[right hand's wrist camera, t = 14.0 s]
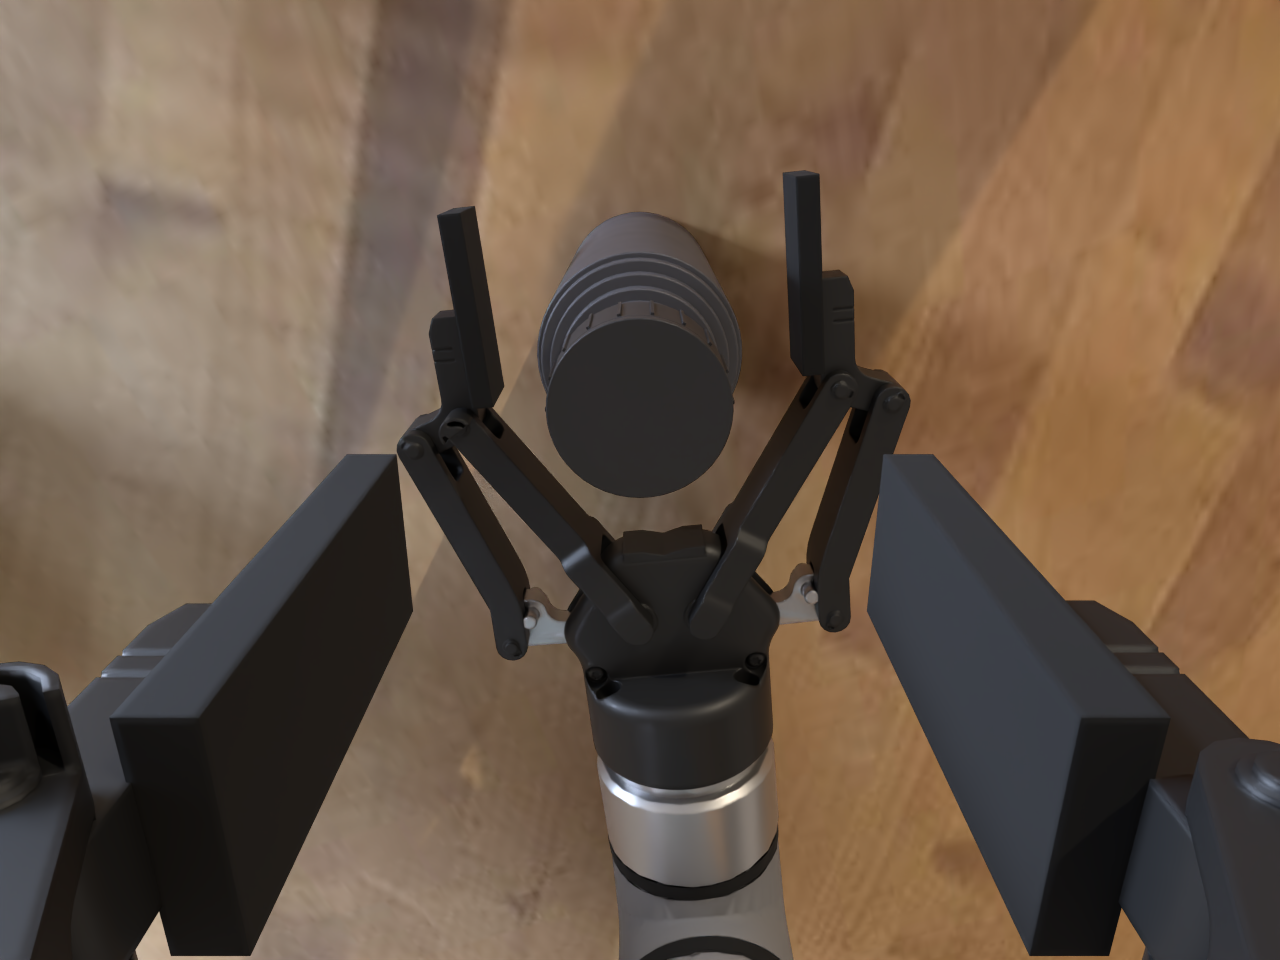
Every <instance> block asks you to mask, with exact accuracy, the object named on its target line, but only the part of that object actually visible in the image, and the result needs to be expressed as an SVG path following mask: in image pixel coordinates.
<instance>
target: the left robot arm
mask: <svg viewBox="0 0 1280 960" xmlns="http://www.w3.org/2000/svg"><path fill="white" fill-rule="evenodd" d="M783 190H784V213H785V237H786V260H787V284H788V308H789V331H790V355H791V359H792V360H793V362H794V363H795V365H796V366H797V368H798V369H799V371H800V373H801V374H802V376H807V377H806V379H805V381H804V383H803V384H802V386H801V388H800V389H799V391H798V393H797V394H796V396H795V398H794V400H793V401H792V403H791V405H790V406H789V408H788V410H787V412H786V413H785V415H784V417H783V418H782V420H781V422H780V423H779V425H778V427H777V429H776V430H775V432H774V434H773V435H772V437H771V439H770V440H769V442H768V444H767V446H766V447H765V449H764V451H763V452H762V454H761V456H760V458H759V459H758V461H757V463H756V464H755V466H754V468H753V469H752V471H751V473H750V475H749V476H748V478H747V480H746V481H745V483H744V485H743V486H742V488H741V490H740V492H739V493H738V495H737V497H736V498H735V500H734V501H733V503H731V504H729V505H728V506H727V507H726V509H725V510H724V512H723V514H722V515H721V517H720V519H719V520H718V522H717V524H716V526H715V527H714V529H713V531H712V532H711V531H708V530H703V529H702V524H701V525H691V526H682V527H679V528H676V529H673V530H670V531H667V532H664V533H659V532H653V531H646V530H638V531H627V532H623V537H622V538H619V539H617V540H615V539H614V538H613V537H612V536H611V535H610V534H609V533H608V532H607V530H606V529H605V528H604V527H603V526H602V525H601V524H600V523H599V521H598V520H597V519H595V518H594V517H590V516H588V515H587V514H586V513H585V511H584V510H583V509H582V508H581V507H580V506H579V505H578V504H577V502H576V501H575V500H574V499H573V498H572V497H571V496H570V495H569V493H568V492H567V491H566V490H565V489H564V488H563V487H562V486H561V484H560V483H559V482H558V481H557V480H556V479H555V478H554V477H553V476H552V474H551V473H550V472H549V471H548V470H547V469H546V468H545V467H544V465H543V464H542V463H541V462H540V461H539V460H538V459H537V458H536V456H535V455H534V454H533V453H532V452H531V451H530V450H529V449H528V447H527V446H526V445H525V444H524V443H523V442H522V441H521V440H520V438H519V437H518V436H517V435H516V434H515V433H514V432H513V431H512V429H511V428H510V427H509V426H508V425H507V424H506V423H505V422H504V420H503V419H502V418H501V417H500V416H499V415H498V414H497V413H496V412H495V410H494V409H493V408H492V407H494V405H495V403H496V401H497V399H498V397H499V395H500V393H501V392H502V390H503V388H504V382H503V376H502V370H501V363H500V357H499V351H498V345H497V339H496V333H495V327H494V321H493V315H492V309H491V302H490V296H489V290H488V284H487V278H486V272H485V266H484V260H483V254H482V247H481V241H480V235H479V229H478V223H477V217H476V211H475V206H471V207H462V208H453V209H451V210H448V211H446V212H444V213H441V214H439V215H437V218H438V224H439V229H440V235H441V240H442V246H443V251H444V257H445V263H446V268H447V274H448V279H449V285H450V291H451V296H452V302H453V307H454V310H446V311H440V312H439V313H438V314H437V315H436V316H434V317H433V318H432V321H431V326H430V330H429V338H430V343H431V348H432V353H433V358H434V362H435V363H434V364H435V369H436V374H437V379H438V385H439V390H440V395H441V403H442V404H441V408H440V409H438V410H436V411H434V412H432V413H430V414H424V415H420V416H419V417H418V418H416V419H415V421H414V422H413V423H412V425H411V426H410V427H409V428H408V430H407V431H406V432H405V434H404V435H403V436H402V437H401V439H400V440H399V442H398V444H397V453H398V456H399V458H400V460H401V461H402V463H403V465H404V466H405V468H406V470H407V471H408V473H409V475H410V476H411V478H412V480H413V481H414V483H415V485H416V486H417V488H418V490H419V492H420V493H421V495H422V497H423V498H424V500H425V502H426V503H427V505H428V507H429V508H430V510H431V512H432V513H433V515H434V517H435V518H436V520H437V522H438V523H439V525H440V527H441V529H442V530H443V532H444V534H445V535H446V537H447V539H448V540H449V542H450V544H451V545H452V547H453V549H454V550H455V552H456V554H457V555H458V557H459V559H460V560H461V562H462V564H463V566H464V567H465V569H466V571H467V572H468V574H469V576H470V577H471V579H472V581H473V582H474V584H475V586H476V587H477V589H478V591H479V592H480V594H481V596H482V597H483V599H484V601H485V602H486V604H487V606H488V608H489V609H490V612H491V618H492V624H493V630H494V636H495V642H496V648H497V651H498V653H499V654H500V655H501V656H502V657H503V658H505V659H507V660H518V659H520V658H522V657H523V656H524V655H525V654H526V652H527V648H528V646H533V645H547V644H561V643H567V644H568V646H569V647H570V649H571V650H572V651H573V652H574V653H575V654H576V656H577V657H578V659H579V660H580V662H581V665H582V668H583V672H584V679H585V686H586V693H587V699H588V706H589V713H590V720H591V726H592V733H593V740H594V745H595V749H596V751H597V753H598V758H597V769H598V775H599V781H600V787H601V793H602V799H603V805H604V811H605V817H606V823H607V829H608V839H609V843H610V848H611V853H612V858H613V867H614V876H615V885H616V894H617V903H618V912H619V935H620V939H619V960H793V955H792V949H791V944H790V938H789V933H788V928H787V922H786V915H785V908H784V899H783V888H782V877H781V867H780V856H779V846H778V818H779V813H778V798H777V783H776V769H775V754H774V742H773V740H772V737H771V736H772V732H773V718H772V701H771V684H770V667H769V646H770V642H771V640H772V637H773V636H774V634H775V632H776V630H777V629H778V626H779V625H780V624H790V623H799V622H808V621H818V620H819V622H820V625H821V627H822V628H823V629H824V630H826V631H828V632H839V631H842V630H843V629H845V628H846V627H847V626H848V624H849V623H850V618H851V614H850V590H849V577H850V574H851V571H852V569H853V566H854V563H855V560H856V557H857V554H858V552H859V549H860V546H861V543H862V540H863V538H864V535H865V532H866V529H867V526H868V523H869V521H870V518H871V515H872V512H873V509H874V506H875V504H876V501H877V498H878V495H879V492H880V483H881V474H882V464H883V455H884V454H893V453H894V450H895V447H896V444H897V442H898V439H899V436H900V433H901V430H902V427H903V425H904V422H905V419H906V416H907V413H908V410H909V408H910V401H911V400H910V397H909V394H908V393H907V392H906V391H905V390H904V389H903V387H901V386H900V385H899V384H898V383H897V382H896V381H895V380H894V379H893V378H892V377H891V376H890V375H889V374H888V373H887V372H885V371H883V370H870V369H866V368H862V367H859V366H857V365H856V362H855V336H854V290H853V287H852V285H851V283H850V280H849V278H848V276H847V275H845V274H844V273H843V272H841V271H840V270H833V271H823V272H822V248H821V212H820V177H819V174H817V173H813V172H809V171H805V170H803V171H794V172H785V173H783ZM850 407H852V410H851V413H850V416H849V419H848V422H847V425H846V428H845V431H844V434H843V437H842V440H841V443H840V446H839V449H838V452H837V455H836V458H835V461H834V464H833V467H832V470H831V473H830V476H829V479H828V482H827V486H826V489H825V492H824V495H823V498H822V501H821V504H820V507H819V510H818V513H817V516H816V519H815V522H814V525H813V528H812V531H811V534H810V538H809V542H808V547H807V564H805V563H800V564H798V565H797V566H796V567H795V569H794V570H793V571H792V573H791V575H790V579H789V582H788V584H787V586H786V587H784V588H783V589H781V590H780V591H776V592H773V591H772V589H771V588H770V587H769V586H768V585H767V584H766V583H765V581H764V580H763V579H762V578H761V577H760V576H759V575H758V574H757V573H756V572H755V570H756V569H757V567H758V566H759V564H760V562H761V561H762V559H763V557H764V555H765V552H766V548H767V543H768V541H769V539H770V537H771V535H772V534H773V532H774V531H775V529H776V527H777V526H778V524H779V522H780V521H781V519H782V518H783V516H784V514H785V513H786V511H787V509H788V508H789V506H790V504H791V503H792V501H793V500H794V498H795V496H796V495H797V493H798V491H799V490H800V488H801V487H802V485H803V483H804V482H805V480H806V478H807V477H808V475H809V474H810V472H811V470H812V469H813V467H814V465H815V464H816V462H817V460H818V459H819V457H820V456H821V454H822V452H823V451H824V449H825V447H826V446H827V444H828V443H829V441H830V439H831V438H832V436H833V434H834V433H835V431H836V429H837V428H838V426H839V425H840V423H841V421H842V420H843V418H844V416H845V415H846V413H847V412H848V410H849V408H850ZM458 450H459V451H460V452H461V453H462V454H463V455H464V456H465V458H466V459H467V460H468V461H469V462H470V463H471V464H472V465H473V466H474V467H475V468H476V469H477V471H478V472H479V473H480V474H481V475H482V476H483V477H484V478H485V479H486V480H487V481H488V482H489V484H490V485H491V486H492V487H493V488H494V489H495V490H496V491H497V492H498V493H499V494H500V496H501V497H502V498H503V499H504V500H505V501H506V502H507V503H508V504H509V505H510V506H511V507H512V509H513V510H514V511H515V512H516V513H517V514H518V515H519V516H520V517H521V518H522V519H523V520H524V522H525V523H526V524H527V525H528V526H529V527H530V528H531V529H532V530H533V531H534V532H535V533H536V535H537V536H538V537H539V538H540V539H541V540H542V541H543V542H544V543H545V544H546V545H547V547H548V548H549V549H550V550H551V551H552V552H553V553H554V554H555V555H556V556H557V557H558V559H559V560H560V561H561V563H562V566H563V568H564V570H565V572H566V574H567V575H568V576H569V578H570V579H571V580H572V581H573V582H574V583H575V584H576V585H577V586H578V587H579V589H580V590H579V591H578V593H577V594H576V596H575V598H574V599H573V601H572V602H571V604H570V606H569V608H568V610H560V609H557V608H555V607H553V606H552V605H551V603H550V602H549V600H548V597H547V595H546V594H545V593H544V592H543V591H542V590H541V589H540V588H538V587H533V588H531V589H530V585H529V580H528V577H527V574H526V571H525V569H524V567H523V565H522V563H521V561H520V559H519V557H518V555H517V553H516V552H515V550H514V548H513V546H512V545H511V543H510V541H509V539H508V538H507V536H506V534H505V532H504V531H503V529H502V527H501V525H500V524H499V522H498V520H497V518H496V516H495V515H494V513H493V511H492V509H491V508H490V506H489V504H488V502H487V501H486V499H485V497H484V495H483V494H482V492H481V490H480V488H479V486H478V485H477V483H476V481H475V479H474V478H473V476H472V474H471V472H470V471H469V469H468V467H467V465H466V464H465V462H464V460H463V458H462V457H461V455H460V453H459V451H458Z"/></svg>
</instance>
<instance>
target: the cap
mask: <svg viewBox="0 0 1280 960" xmlns="http://www.w3.org/2000/svg"><path fill="white" fill-rule="evenodd" d="M727 373H729V371H728V368H727V365H726V363H725V360H724V357H723V355H722V354H721V355H720V354H719V352H718V350H717V348H716V346H715V344H714V343H713V341H712V339H711V338H710V336H709V333H708V330H707V329H706V328H705V329H703V328H702V327H701V326H700V325H698V324H697V323H696V322H695V321H694V320H693V319H691V318H690V317H688V316H687V315H685V314H684V311H683V310H680V311H678V310H676V309H673V308H671V307H668V306H665V305H661V304H656V303H654V301H652V300H650V302H628V303H623V304H622V302H618V305H615V306H612V307H609V308H606V309H604V310H602V311H600V312H598V313H596V314H594V315H593V314H592V313H591V314H590V315H589V318H588V319H587V320H585V321H584V322H583V323H582V324H581V325H580V326H579V327H577V329H576V330H575V331H574V332H573V333H572V334H571V335H570V334H568V336H567V338H566V340H565V343H564V346H563V348H562V351H561V353H560V355H559V357H558V360H557V362H556V361H554V364H553V367H552V369H551V372H550V375H549V378H548V380H550V383H549V387H548V392H547V398H546V407H545V412H546V417H547V424H548V428H549V432H550V436H551V438H552V441H553V443H554V445H555V447H556V449H557V451H558V453H559V454H560V456H561V457H562V459H563V460H564V461H565V463H566V464H567V465H568V466H569V467H570V468H571V469H572V470H573V471H574V472H575V473H576V474H577V475H578V476H579V477H581V478H582V479H583V480H584V481H586V482H588V483H589V484H591V485H593V486H594V487H596V488H599V489H601V490H603V491H605V492H608V493H612V494H615V495H619V496H625V497H635V498H644V497H655V496H660V495H664V494H668V493H671V492H674V491H676V490H679V489H681V488H683V487H685V486H687V485H688V484H690V483H692V482H693V481H695V480H696V479H697V478H699V477H700V476H701V475H702V474H704V473H705V472H706V471H707V470H708V469H709V468H710V467H711V466H712V464H713V463H714V462H715V460H716V459H717V458H718V456H719V455H720V453H721V451H722V450H723V448H724V446H725V444H726V441H727V439H728V436H729V434H730V430H731V426H732V420H733V404H734V398H733V395H732V390H731V386H730V382H729V379H728V376H727Z"/></svg>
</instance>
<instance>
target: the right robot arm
mask: <svg viewBox="0 0 1280 960" xmlns="http://www.w3.org/2000/svg"><path fill="white" fill-rule="evenodd" d="M412 612H413V606H412V597H411V587H410V578H409V568H408V559H407V549H406V540H405V530H404V521H403V511H402V502H401V493H400V483H399V474H398V464H397V455H396V454H347V455H346V456H345V457H344V458H343V459H342V460H341V461H340V463H339V464H338V465H337V466H336V467H335V468H334V469H333V470H332V471H331V473H330V474H329V475H328V476H327V477H326V478H325V479H324V480H323V481H322V482H321V484H320V485H319V486H318V487H317V488H316V489H315V490H314V491H313V492H312V494H311V495H310V496H309V497H308V498H307V499H306V500H305V501H304V502H303V504H302V505H301V506H300V507H299V508H298V509H297V510H296V511H295V512H294V513H293V515H292V516H291V517H290V518H289V519H288V520H287V521H286V522H285V523H284V525H283V526H282V527H281V528H280V529H279V530H278V531H277V532H276V533H275V535H274V536H273V537H272V538H271V539H270V540H269V541H268V542H267V543H266V544H265V546H264V547H263V548H262V549H261V550H260V551H259V552H258V553H257V554H256V556H255V557H254V558H253V559H252V560H251V561H250V562H249V563H248V564H247V566H246V567H245V568H244V569H243V570H242V571H241V572H240V573H239V574H238V575H237V577H236V578H235V579H234V580H233V581H232V582H231V583H230V584H229V585H228V587H227V588H226V589H225V590H224V591H223V592H222V593H221V594H220V595H219V597H218V598H217V599H216V600H215V601H214V602H213V603H212V604H185V605H183V606H181V607H179V608H178V609H176V610H174V611H172V612H170V613H169V614H167V615H165V616H163V617H162V618H160V619H158V620H156V621H155V622H153V623H151V624H149V625H148V626H147V627H146V628H145V629H144V630H143V631H142V632H141V633H140V634H139V635H138V636H137V637H136V638H135V639H134V640H133V641H132V642H131V643H130V644H129V645H128V646H127V647H126V648H125V649H124V650H123V654H122V656H117V657H116V658H115V659H114V660H113V661H112V662H111V663H110V664H109V665H108V666H107V667H106V668H105V669H104V670H103V671H102V675H101V677H96V678H95V679H94V680H93V681H92V682H91V683H90V684H89V685H88V686H87V687H86V688H85V689H84V690H83V691H82V692H81V693H80V694H79V695H78V696H77V697H76V698H75V699H74V700H73V701H72V702H71V703H70V704H69V705H68V706H67V704H66V700H65V697H64V693H63V690H62V686H61V682H60V679H59V675H58V674H57V673H55V672H54V671H52V670H51V669H49V668H48V667H46V666H45V665H41V664H33V663H26V662H10V663H0V960H138V958H137V955H136V951H135V949H136V948H137V946H138V945H139V943H140V941H141V940H142V938H143V936H144V935H145V933H146V932H147V930H148V928H149V927H150V925H151V923H152V922H153V920H154V919H155V917H156V915H157V914H158V912H160V916H161V919H162V923H163V927H164V931H165V935H166V939H167V942H168V946H169V950H170V954H171V956H251V953H252V951H253V949H254V947H255V945H256V943H257V941H258V939H259V936H260V934H261V932H262V930H263V928H264V926H265V924H266V922H267V920H268V917H269V915H270V913H271V911H272V909H273V907H274V905H275V903H276V900H277V898H278V896H279V894H280V892H281V890H282V888H283V886H284V883H285V881H286V879H287V877H288V875H289V873H290V871H291V869H292V867H293V864H294V862H295V860H296V858H297V856H298V854H299V852H300V850H301V847H302V845H303V843H304V841H305V839H306V837H307V835H308V833H309V830H310V828H311V826H312V824H313V822H314V820H315V818H316V816H317V814H318V811H319V809H320V807H321V805H322V803H323V801H324V799H325V797H326V794H327V792H328V790H329V788H330V786H331V784H332V782H333V780H334V777H335V775H336V773H337V771H338V769H339V767H340V765H341V763H342V761H343V758H344V756H345V754H346V752H347V750H348V748H349V746H350V744H351V741H352V739H353V737H354V735H355V733H356V731H357V729H358V727H359V724H360V722H361V720H362V718H363V716H364V714H365V712H366V710H367V708H368V705H369V703H370V701H371V699H372V697H373V695H374V693H375V691H376V688H377V686H378V684H379V682H380V680H381V678H382V676H383V674H384V671H385V669H386V667H387V665H388V663H389V661H390V659H391V657H392V655H393V652H394V650H395V648H396V646H397V644H398V642H399V640H400V638H401V635H402V633H403V631H404V629H405V627H406V625H407V623H408V621H409V618H410V616H411V614H412ZM867 612H868V614H869V616H870V619H871V621H872V623H873V625H874V627H875V629H876V631H877V633H878V635H879V638H880V640H881V642H882V644H883V646H884V648H885V650H886V652H887V655H888V657H889V659H890V661H891V663H892V665H893V667H894V669H895V672H896V674H897V676H898V678H899V680H900V682H901V684H902V686H903V688H904V691H905V693H906V695H907V697H908V699H909V701H910V703H911V705H912V708H913V710H914V712H915V714H916V716H917V718H918V720H919V722H920V725H921V727H922V729H923V731H924V733H925V735H926V737H927V739H928V741H929V744H930V746H931V748H932V750H933V752H934V754H935V756H936V758H937V761H938V763H939V765H940V767H941V769H942V771H943V773H944V775H945V778H946V780H947V782H948V784H949V786H950V788H951V790H952V792H953V794H954V797H955V799H956V801H957V803H958V805H959V807H960V809H961V811H962V814H963V816H964V818H965V820H966V822H967V824H968V826H969V828H970V831H971V833H972V835H973V837H974V839H975V841H976V843H977V845H978V847H979V850H980V852H981V854H982V856H983V858H984V860H985V862H986V864H987V867H988V869H989V871H990V873H991V875H992V877H993V879H994V881H995V883H996V886H997V888H998V890H999V892H1000V894H1001V896H1002V898H1003V900H1004V903H1005V905H1006V907H1007V909H1008V911H1009V913H1010V915H1011V917H1012V920H1013V922H1014V924H1015V926H1016V928H1017V930H1018V932H1019V934H1020V936H1021V939H1022V941H1023V943H1024V945H1025V947H1026V949H1027V951H1028V953H1029V956H1109V954H1110V950H1111V946H1112V942H1113V939H1114V935H1115V931H1116V927H1117V923H1118V919H1119V916H1120V912H1121V908H1122V909H1123V911H1124V912H1125V914H1126V915H1127V917H1128V919H1129V920H1130V922H1131V923H1132V925H1133V927H1134V928H1135V930H1136V932H1137V933H1138V935H1139V936H1140V938H1141V940H1142V941H1143V943H1144V944H1145V946H1146V947H1145V951H1144V955H1143V958H1142V960H1280V744H1278V743H1274V742H1271V741H1265V740H1255V739H1249V738H1248V737H1247V736H1246V735H1245V734H1244V733H1243V732H1242V731H1241V730H1240V729H1239V728H1238V727H1237V726H1236V725H1235V724H1234V723H1233V722H1232V721H1231V720H1230V719H1229V718H1228V717H1227V716H1226V715H1225V714H1224V713H1223V712H1222V711H1221V710H1220V709H1219V708H1218V707H1217V706H1216V705H1215V704H1214V703H1213V702H1212V701H1211V700H1210V699H1209V698H1208V697H1207V696H1206V695H1205V694H1204V693H1203V692H1202V691H1201V690H1200V689H1199V688H1198V687H1197V686H1196V685H1195V684H1194V683H1193V682H1192V681H1191V680H1190V679H1189V678H1188V677H1187V676H1186V675H1185V674H1180V673H1179V668H1178V667H1177V666H1176V665H1175V664H1174V663H1173V662H1172V661H1171V660H1170V659H1169V658H1168V657H1167V656H1166V655H1165V654H1164V653H1159V652H1158V647H1157V646H1156V645H1155V644H1154V643H1153V642H1152V641H1151V640H1150V639H1149V638H1148V637H1147V636H1146V635H1145V634H1144V633H1143V632H1142V631H1141V630H1140V629H1139V628H1138V627H1137V626H1136V625H1135V624H1134V623H1133V622H1132V621H1130V620H1128V619H1126V618H1124V617H1123V616H1121V615H1119V614H1117V613H1116V612H1114V611H1112V610H1110V609H1108V608H1107V607H1105V606H1103V605H1101V604H1100V603H1098V602H1096V601H1065V600H1064V599H1063V598H1062V597H1061V595H1060V594H1059V593H1058V592H1057V591H1056V590H1055V589H1054V588H1053V587H1052V585H1051V584H1050V583H1049V582H1048V581H1047V580H1046V579H1045V578H1044V577H1043V575H1042V574H1041V573H1040V572H1039V571H1038V570H1037V569H1036V568H1035V567H1034V566H1033V564H1032V563H1031V562H1030V561H1029V560H1028V559H1027V558H1026V557H1025V556H1024V554H1023V553H1022V552H1021V551H1020V550H1019V549H1018V548H1017V547H1016V546H1015V544H1014V543H1013V542H1012V541H1011V540H1010V539H1009V538H1008V537H1007V536H1006V535H1005V533H1004V532H1003V531H1002V530H1001V529H1000V528H999V527H998V526H997V525H996V523H995V522H994V521H993V520H992V519H991V518H990V517H989V516H988V515H987V513H986V512H985V511H984V510H983V509H982V508H981V507H980V506H979V505H978V504H977V502H976V501H975V500H974V499H973V498H972V497H971V496H970V495H969V494H968V492H967V491H966V490H965V489H964V488H963V487H962V486H961V485H960V484H959V482H958V481H957V480H956V479H955V478H954V477H953V476H952V475H951V474H950V473H949V471H948V470H947V469H946V468H945V467H944V466H943V465H942V464H941V463H940V461H939V460H938V459H937V458H936V457H935V456H934V455H933V454H884V455H883V464H882V474H881V483H880V492H879V502H878V511H877V521H876V530H875V540H874V549H873V559H872V568H871V578H870V587H869V596H868V606H867Z"/></svg>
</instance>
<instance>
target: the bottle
mask: <svg viewBox="0 0 1280 960" xmlns="http://www.w3.org/2000/svg"><path fill="white" fill-rule="evenodd" d="M650 300H652V301H654V303H656V304H661V305H665V306H668V307H671V308H673V309H676V310H678V311H680V310H683V311H684V314H685V315H687V316H688V317H690V318H691V319H693V320H694V321H695V322H696V323H697V324H698V325H700V326H701V327H702V328H703V329H705V328H706V329H707V330H708V333H709V336H710V338H711V339H712V341H713V343H714V344H715V346H716V348H717V350H718V352H719V354H720V355H721V354H722V355H723V357H724V360H725V363H726V365H727V368H728V371H729V373H727V376H728V379H729V382H730V386H731V390H732V394H733V392H734V389H735V387H736V384H737V382H738V378H739V374H740V370H741V361H742V341H741V335H740V329H739V326H738V323H737V319H736V316H735V314H734V312H733V310H732V308H731V305H730V303H729V301H728V299H727V298H726V296H725V294H724V292H723V290H722V288H721V286H720V284H719V282H718V280H717V278H716V276H715V274H714V272H713V270H712V268H711V266H710V265H709V263H708V261H707V259H706V257H705V255H704V253H703V251H702V249H701V247H700V246H699V244H698V243H697V241H696V240H695V239H694V237H693V236H692V235H691V234H690V233H689V232H688V231H687V230H686V229H685V228H684V227H682V226H681V225H679V224H678V223H677V222H675V221H673V220H671V219H669V218H667V217H664V216H661V215H659V214H654V213H649V212H631V213H626V214H621V215H618V216H615V217H612V218H610V219H609V220H607V221H605V222H603V223H602V224H600V225H599V226H597V227H596V228H595V229H594V230H593V231H592V232H590V233H589V235H588V236H587V237H586V238H585V239H584V241H583V242H582V244H581V245H580V247H579V248H578V250H577V252H576V254H575V256H574V258H573V260H572V262H571V264H570V266H569V268H568V269H567V271H566V273H565V275H564V277H563V279H562V281H561V283H560V285H559V287H558V289H557V291H556V293H555V295H554V296H553V298H552V300H551V302H550V304H549V306H548V308H547V311H546V313H545V315H544V317H543V321H542V324H541V327H540V332H539V338H538V352H537V357H538V366H539V372H540V376H541V380H542V383H543V386H544V388H545V391H546V393H547V392H548V387H549V383H550V380H548V378H549V375H550V372H551V369H552V367H553V364H554V361H556V362H557V360H558V357H559V355H560V353H561V351H562V348H563V346H564V343H565V340H566V338H567V336H568V334H570V335H571V334H572V333H573V332H574V331H575V330H576V329H577V327H579V326H580V325H581V324H582V323H583V322H584V321H585V320H587V319H588V318H589V315H590V314H591V313H592V314H593V315H594V314H596V313H598V312H600V311H602V310H604V309H606V308H609V307H612V306H615V305H618V302H622V304H623V303H628V302H650Z"/></svg>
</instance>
